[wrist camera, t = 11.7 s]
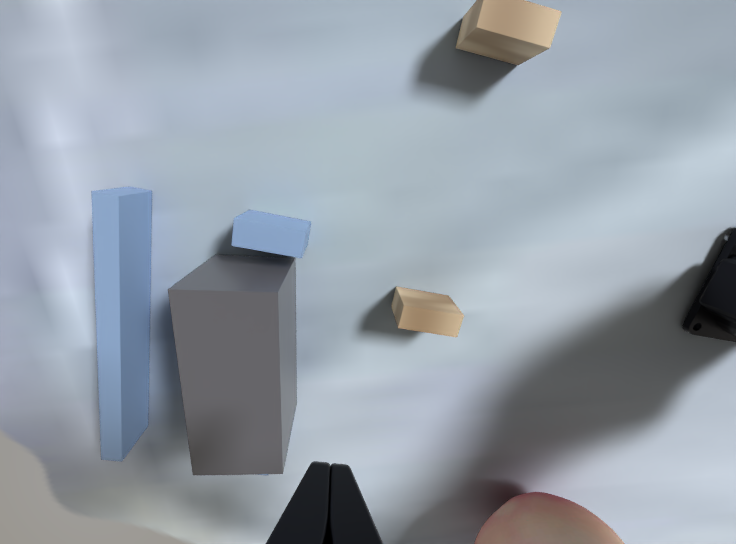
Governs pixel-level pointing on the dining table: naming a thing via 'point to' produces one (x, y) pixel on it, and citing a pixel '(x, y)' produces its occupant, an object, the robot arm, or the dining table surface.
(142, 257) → the separate blue rectangular blocks
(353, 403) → the dining table surface
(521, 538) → the decorative fruit
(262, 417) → the tall grey block
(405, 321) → the tan wooden block
